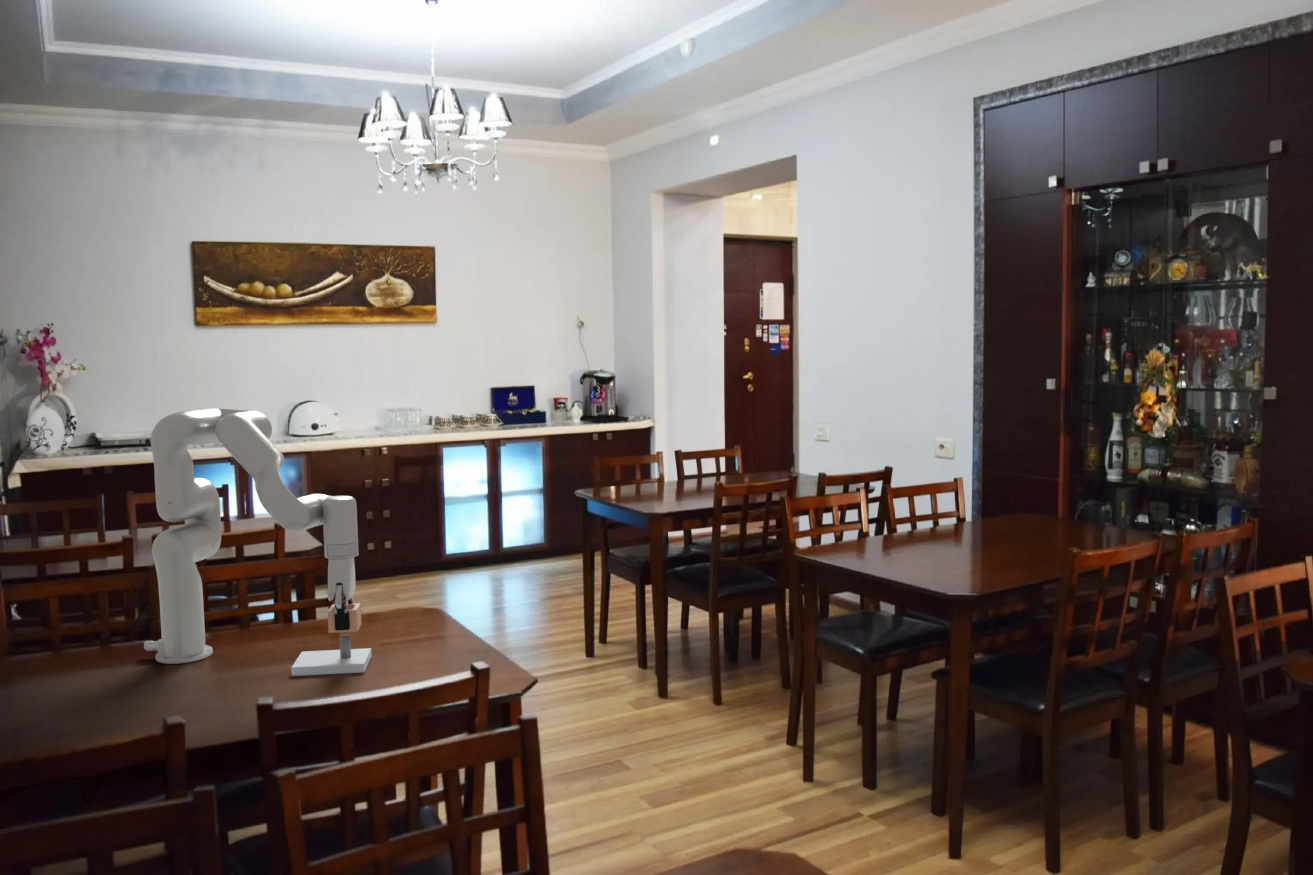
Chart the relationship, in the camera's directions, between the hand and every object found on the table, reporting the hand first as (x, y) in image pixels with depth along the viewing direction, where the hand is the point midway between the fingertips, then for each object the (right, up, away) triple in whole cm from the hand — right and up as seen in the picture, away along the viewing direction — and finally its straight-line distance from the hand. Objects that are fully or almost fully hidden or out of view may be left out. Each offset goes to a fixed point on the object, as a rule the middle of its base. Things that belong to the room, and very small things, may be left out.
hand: (344, 624), depth 241 cm
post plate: (-3, -10, +1) cm, 10 cm away
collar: (0, -1, 0) cm, 1 cm away
